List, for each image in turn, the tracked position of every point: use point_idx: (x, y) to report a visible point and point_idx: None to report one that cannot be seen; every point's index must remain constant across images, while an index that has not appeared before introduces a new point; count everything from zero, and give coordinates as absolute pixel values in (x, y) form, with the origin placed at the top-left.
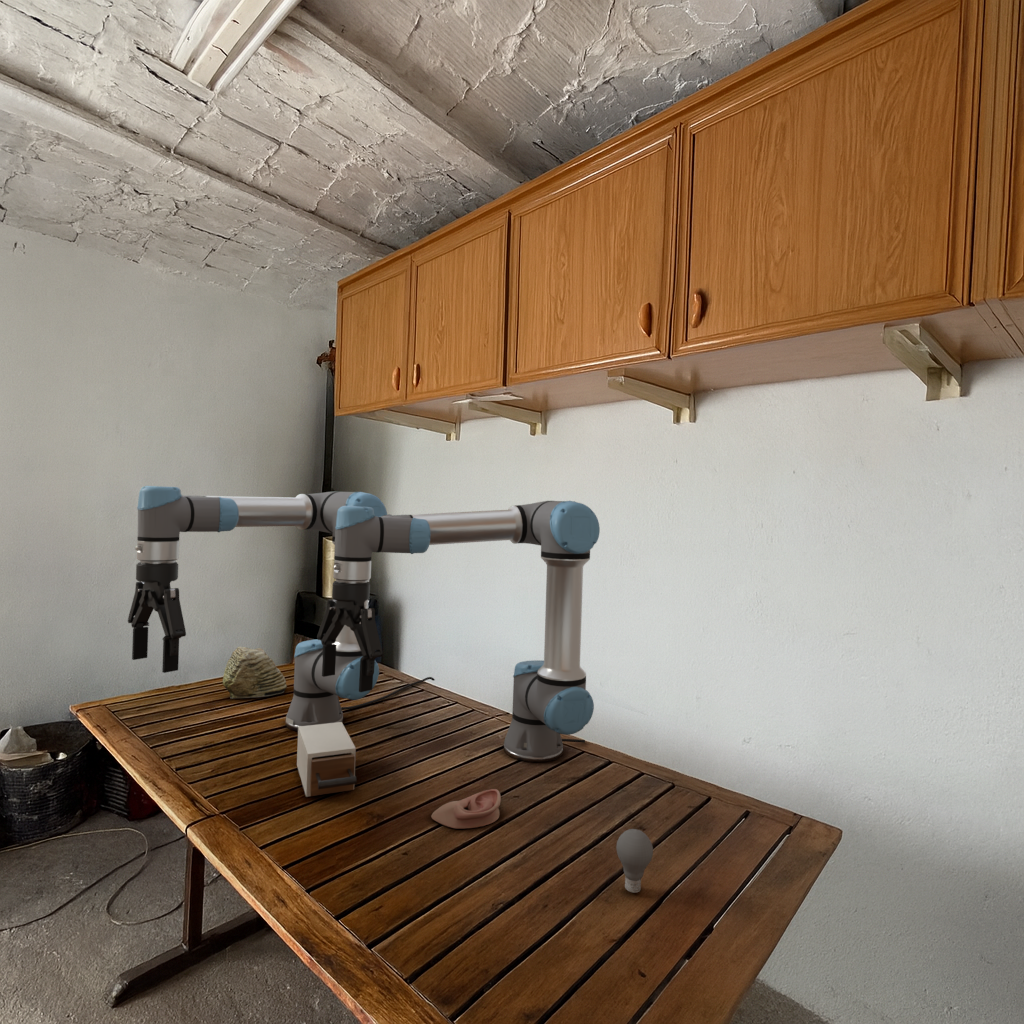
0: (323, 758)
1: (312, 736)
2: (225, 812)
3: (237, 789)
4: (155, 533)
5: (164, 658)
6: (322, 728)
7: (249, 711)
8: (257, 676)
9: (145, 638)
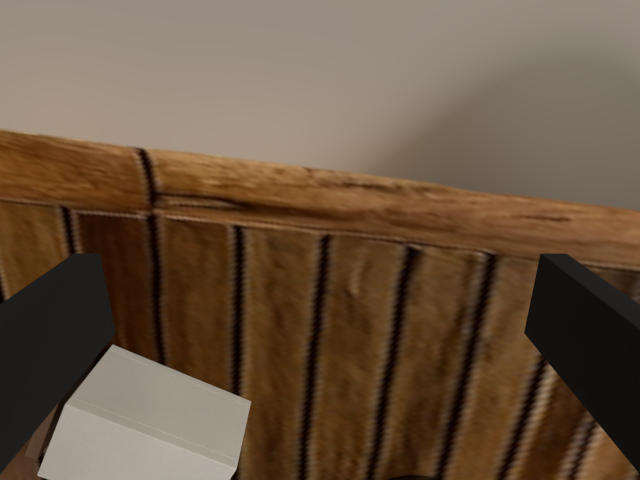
0: (50, 415)
1: (157, 457)
2: (149, 222)
3: (229, 283)
4: None
5: (6, 302)
6: None
7: (576, 476)
8: None
9: (616, 423)
